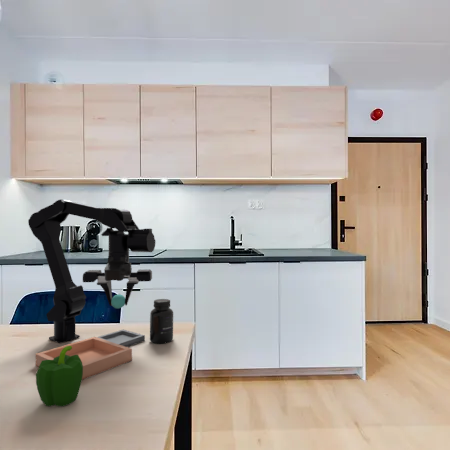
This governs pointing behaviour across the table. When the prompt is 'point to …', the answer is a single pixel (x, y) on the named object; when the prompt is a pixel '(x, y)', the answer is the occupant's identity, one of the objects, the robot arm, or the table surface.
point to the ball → (118, 301)
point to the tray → (124, 337)
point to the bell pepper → (59, 379)
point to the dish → (92, 355)
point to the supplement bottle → (161, 322)
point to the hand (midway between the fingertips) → (118, 305)
